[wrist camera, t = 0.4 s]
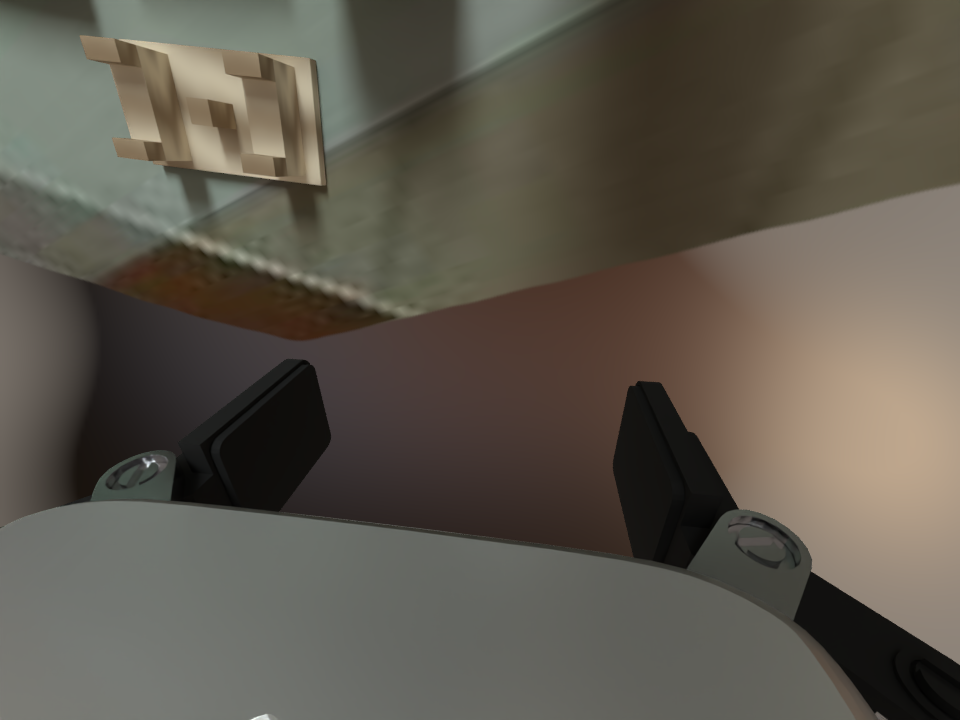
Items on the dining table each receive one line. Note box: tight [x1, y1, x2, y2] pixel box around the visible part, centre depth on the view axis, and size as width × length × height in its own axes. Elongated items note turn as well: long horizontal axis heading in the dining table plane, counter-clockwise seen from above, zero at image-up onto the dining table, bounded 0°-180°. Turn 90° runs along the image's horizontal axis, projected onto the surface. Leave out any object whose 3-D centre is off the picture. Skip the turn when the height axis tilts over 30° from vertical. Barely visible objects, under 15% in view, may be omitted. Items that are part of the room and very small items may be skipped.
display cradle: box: [80, 35, 326, 186], centre depth 34 cm, size 10×18×6 cm, turn 84°
